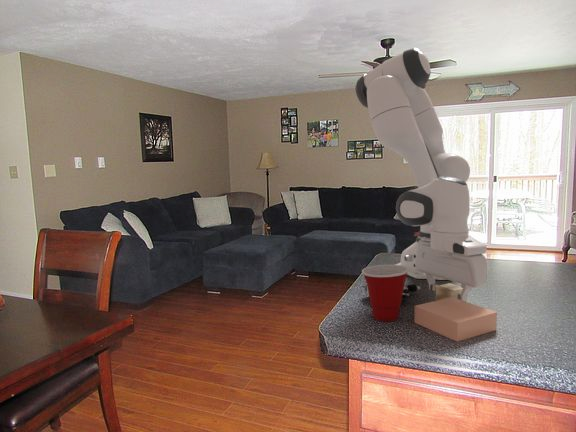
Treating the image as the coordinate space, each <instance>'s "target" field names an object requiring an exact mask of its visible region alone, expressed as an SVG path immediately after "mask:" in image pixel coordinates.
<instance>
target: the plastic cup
mask: <svg viewBox="0 0 576 432" xmlns="http://www.w3.org/2000/svg"><path fill="white" fill-rule="evenodd" d="M407 272H408V268H407V267H405V266H401V265H396V264H378V265H371V266H367V267H364V268H363V269H361V274H362V275H363V277H364V280H365V283H366V285H367V287H368V292H369V295H368V297H369V303H370V305H371V311H372V312H371V313H372V316H373V318H374V319H375V320H377V321H381V322H394V321H397V319H399V316H400V309H401V305H402V302H403V300H402V295H403V289H404V283H405V282H406V279H407V276H408V275H407Z"/></svg>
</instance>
